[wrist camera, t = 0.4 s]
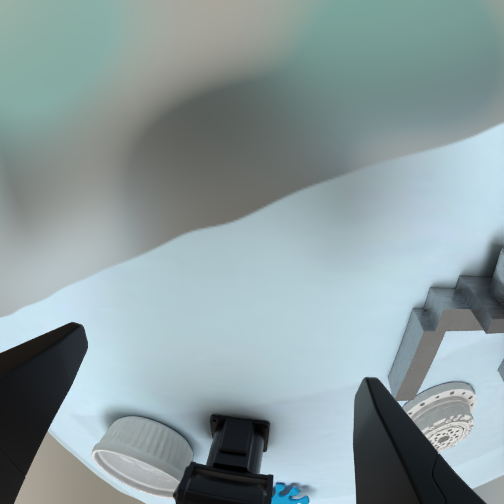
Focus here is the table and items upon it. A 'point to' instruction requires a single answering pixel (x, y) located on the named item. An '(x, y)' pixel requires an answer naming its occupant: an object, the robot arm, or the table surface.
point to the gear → (287, 496)
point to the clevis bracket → (447, 326)
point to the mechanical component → (444, 413)
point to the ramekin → (144, 455)
